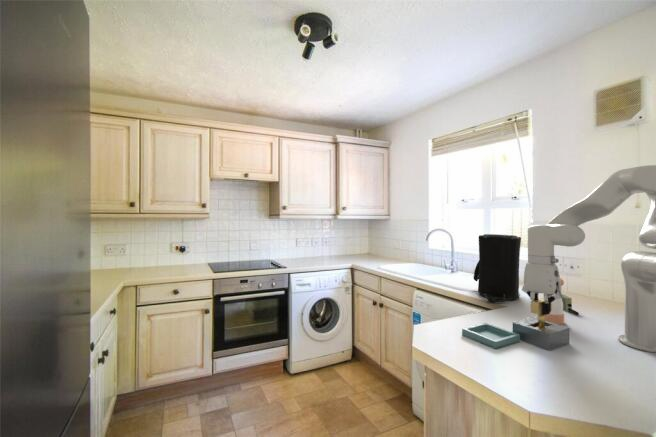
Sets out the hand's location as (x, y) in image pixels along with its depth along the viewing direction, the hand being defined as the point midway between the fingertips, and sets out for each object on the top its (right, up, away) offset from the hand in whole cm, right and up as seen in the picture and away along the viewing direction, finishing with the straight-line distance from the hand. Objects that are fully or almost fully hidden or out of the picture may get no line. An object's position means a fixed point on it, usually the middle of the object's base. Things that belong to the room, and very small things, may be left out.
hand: (541, 312), depth 105 cm
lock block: (0, -10, 0) cm, 10 cm away
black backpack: (+16, -10, +61) cm, 64 cm away
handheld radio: (+36, -10, +38) cm, 54 cm away
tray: (-17, -10, +2) cm, 20 cm away
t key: (0, -8, 0) cm, 8 cm away
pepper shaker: (+19, -10, +20) cm, 29 cm away
